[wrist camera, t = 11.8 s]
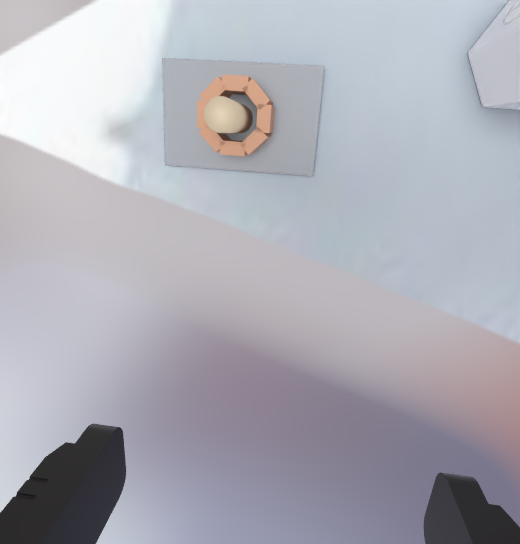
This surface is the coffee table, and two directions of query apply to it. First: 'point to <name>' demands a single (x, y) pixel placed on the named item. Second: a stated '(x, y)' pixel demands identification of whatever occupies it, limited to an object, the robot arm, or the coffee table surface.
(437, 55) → the coffee table surface
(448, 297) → the coffee table surface
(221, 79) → the ring
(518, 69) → the jar
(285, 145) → the post block
